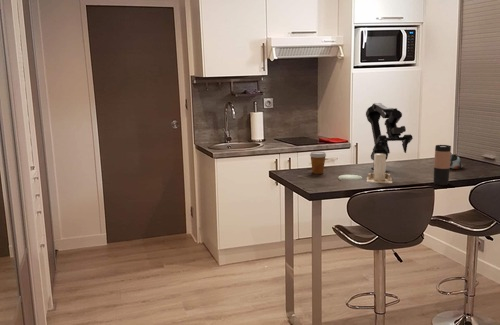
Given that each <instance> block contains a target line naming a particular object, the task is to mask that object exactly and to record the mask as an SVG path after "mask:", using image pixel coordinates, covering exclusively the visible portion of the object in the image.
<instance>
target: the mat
mask: <svg viewBox="0 0 500 325" xmlns="http://www.w3.org/2000/svg"><path fill="white" fill-rule="evenodd" d="M337 179H338V180H339V181H342V180H345V181H346V180H347V181H348V180H349V181H356V180H357V181H358V180H362V179H363V177H362V176H361V175H357V174H356V175H355V174H341V175H339V176H338V178H337Z"/></svg>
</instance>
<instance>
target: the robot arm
mask: <svg viewBox="0 0 500 325" xmlns="http://www.w3.org/2000/svg"><path fill="white" fill-rule="evenodd" d="M365 117H366V120H367V121H368V122H369V123H370V125H371V131H372V132H371V133H372V137H373V143H374V146H373V148H372V152H371V153H370V159H371V160H372V161H374V154H376V153H383V154H386V161H387V160H388V157H389V154H390V153H391V152H390V147H389V144H388V142H394V141H395V142H398V141H399V142H401V143H402V150H403V152H404V153H405V154H407V149H408V144H410V142H412V140H413V139H414V138H413V137H414V136H413V135H412V134H411V133H410V134H403V133H405V132H406V126H405V125H402V126H400V127H398V125H397V124H398V123H399V121H400V120H401V118H402V117H403V113H402V112H401V111H400V110H398V108H396V107H395V108H394V107H387V106H385V105H384V104H383V103H381V102H374V103H372V105H371V106H370V107H368V108H367V109H366V111H365ZM381 118H382V119H385V121H384V126H385V128H386V135H385V134H382V133H381V132H382V131H381V127H380V119H381ZM402 134H403V136H402ZM386 169H387V168H385V171H386ZM371 170H374V163H373V166H372V167H371Z"/></svg>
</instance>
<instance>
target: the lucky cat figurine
mask: <svg viewBox="0 0 500 325" xmlns="http://www.w3.org/2000/svg"><path fill="white" fill-rule="evenodd" d="M462 168H463V164H462V159H461V158H460V156H458V154H457V153H456V152H455V153H454V154H453V153H452V152H451V155H450V169H452V170H453V169H454V170H460V169H462Z"/></svg>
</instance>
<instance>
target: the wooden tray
mask: <svg viewBox="0 0 500 325" xmlns="http://www.w3.org/2000/svg"><path fill="white" fill-rule="evenodd" d="M373 179H374V172H368V176H366V183H374V184H375V183H376V184H377V183H378V184H379V183H381V184H393V180H392V179H393V178H392V177H391V173H386V172H385V181H375V180H373Z"/></svg>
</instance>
